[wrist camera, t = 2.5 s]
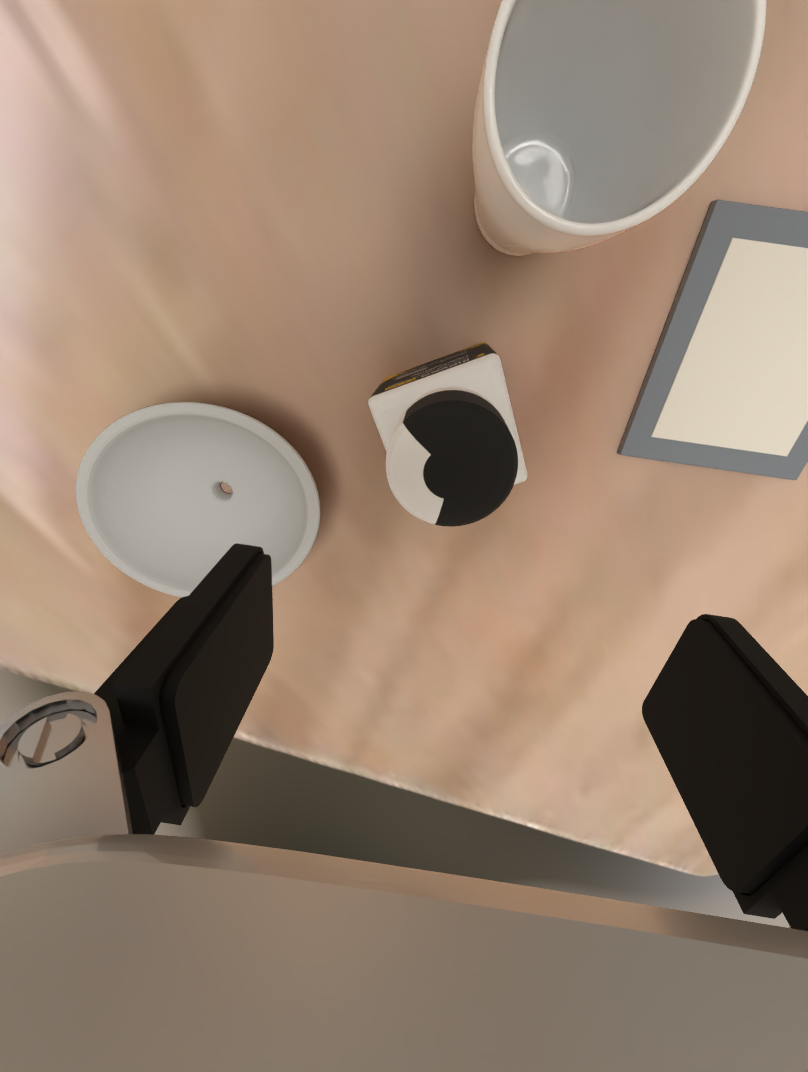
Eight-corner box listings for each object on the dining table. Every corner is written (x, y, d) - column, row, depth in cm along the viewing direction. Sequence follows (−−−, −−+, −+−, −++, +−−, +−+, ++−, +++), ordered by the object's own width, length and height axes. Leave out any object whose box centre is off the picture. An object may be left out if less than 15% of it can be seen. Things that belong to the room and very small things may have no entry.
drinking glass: (601, 230, 24) (789, 146, 11) (487, 294, 26) (532, 286, 13) (564, 84, 21) (753, -258, 8) (440, 167, 23) (436, -6, 10)
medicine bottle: (486, 340, 27) (513, 364, 17) (512, 445, 30) (548, 521, 20) (381, 378, 29) (346, 422, 18) (416, 474, 32) (402, 559, 21)
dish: (283, 351, 29) (254, 360, 24) (366, 533, 35) (355, 566, 30) (81, 436, 33) (25, 457, 28) (187, 586, 39) (154, 622, 34)
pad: (711, 201, 23) (718, 199, 23) (935, 232, 23) (948, 231, 22) (617, 452, 30) (620, 455, 29) (789, 477, 30) (796, 480, 29)
